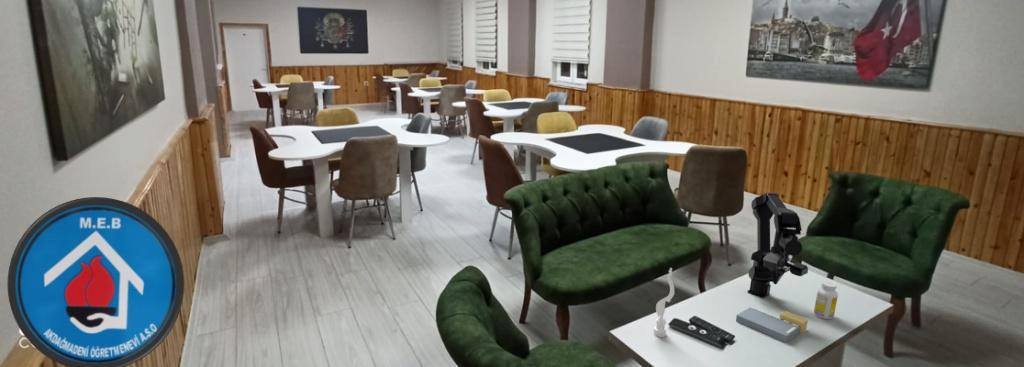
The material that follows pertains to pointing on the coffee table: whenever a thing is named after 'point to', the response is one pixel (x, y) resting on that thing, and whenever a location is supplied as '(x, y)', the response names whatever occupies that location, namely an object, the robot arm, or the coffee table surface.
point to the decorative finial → (663, 309)
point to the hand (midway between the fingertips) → (775, 283)
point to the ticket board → (768, 324)
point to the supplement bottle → (826, 300)
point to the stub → (795, 320)
